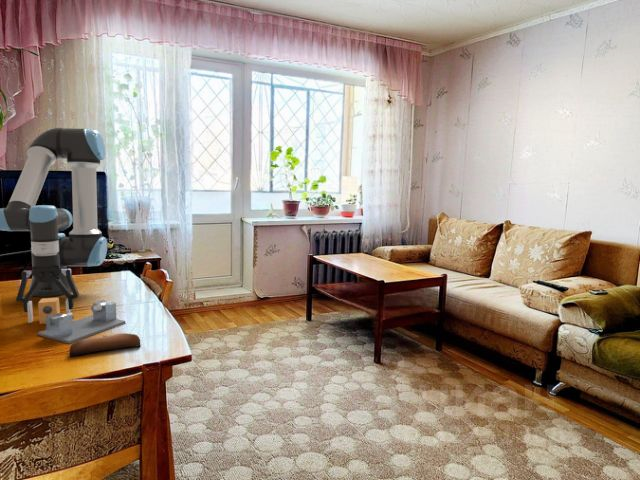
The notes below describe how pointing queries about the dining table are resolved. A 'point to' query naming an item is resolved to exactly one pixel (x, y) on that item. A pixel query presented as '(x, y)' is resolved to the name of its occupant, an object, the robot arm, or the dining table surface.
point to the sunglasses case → (104, 343)
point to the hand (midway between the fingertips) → (49, 320)
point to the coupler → (48, 308)
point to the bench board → (85, 329)
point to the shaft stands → (62, 323)
